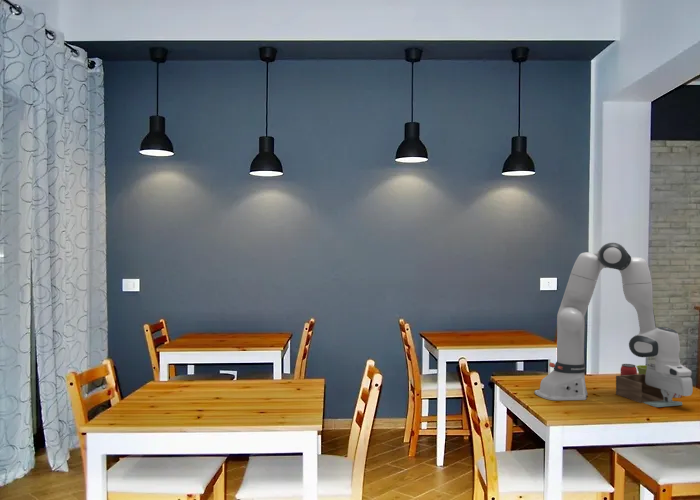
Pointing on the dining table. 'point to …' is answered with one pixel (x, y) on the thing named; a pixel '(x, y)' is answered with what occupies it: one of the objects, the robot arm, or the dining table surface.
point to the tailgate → (663, 403)
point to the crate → (637, 388)
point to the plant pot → (642, 369)
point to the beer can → (628, 369)
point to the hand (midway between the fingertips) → (667, 401)
